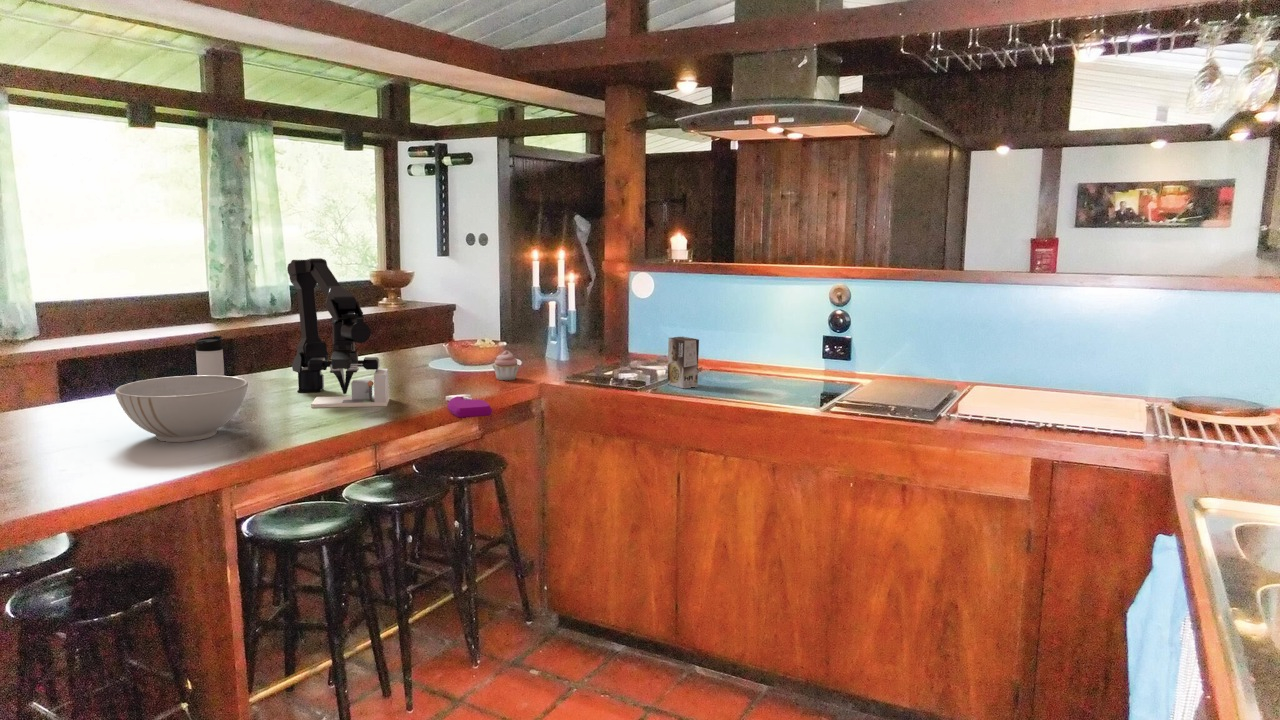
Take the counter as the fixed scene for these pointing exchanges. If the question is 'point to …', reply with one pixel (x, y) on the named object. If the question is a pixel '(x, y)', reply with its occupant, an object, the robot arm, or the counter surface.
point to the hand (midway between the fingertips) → (345, 393)
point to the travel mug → (209, 356)
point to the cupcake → (506, 366)
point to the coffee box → (683, 362)
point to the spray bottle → (467, 406)
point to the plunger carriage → (360, 389)
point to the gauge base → (346, 401)
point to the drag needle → (370, 389)
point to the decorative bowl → (182, 405)
